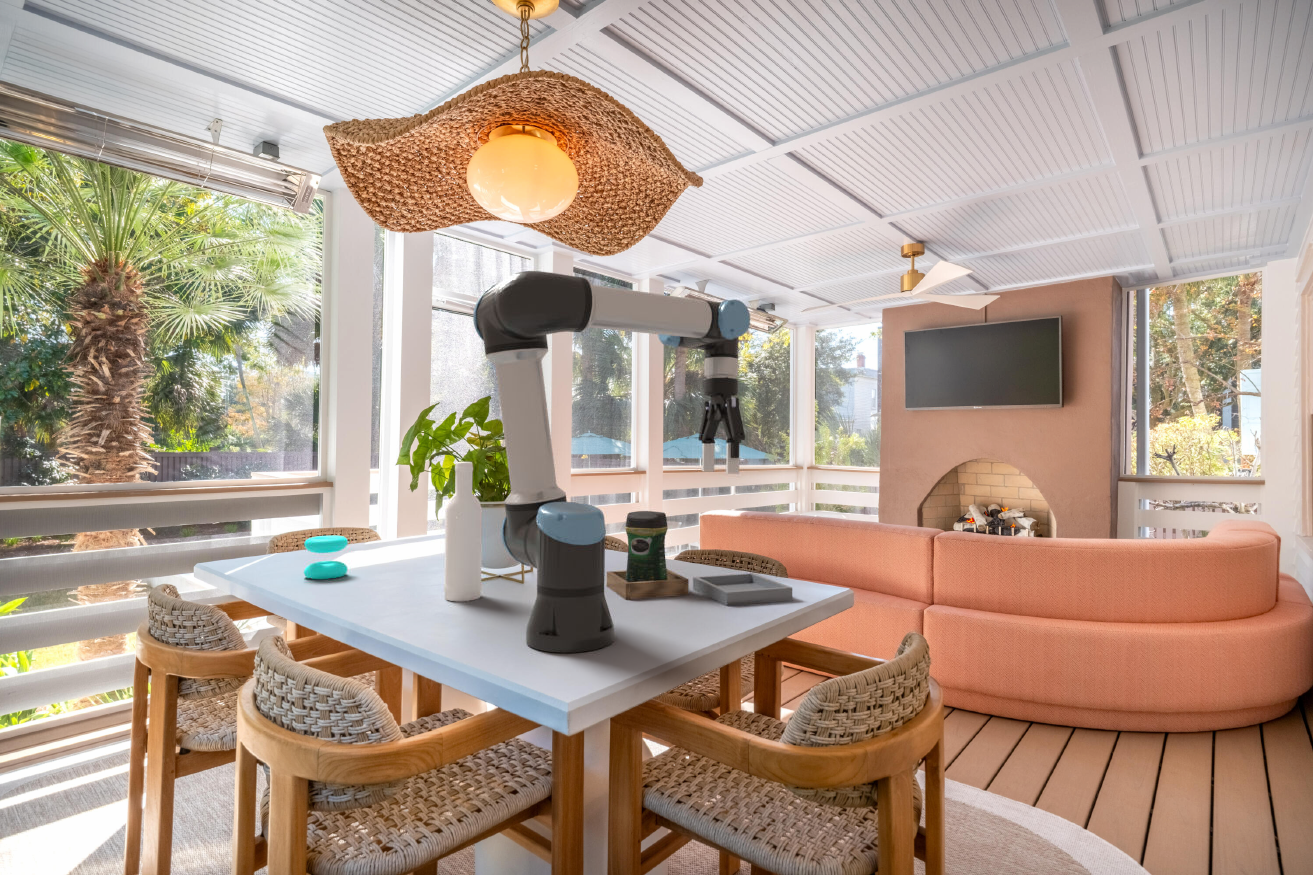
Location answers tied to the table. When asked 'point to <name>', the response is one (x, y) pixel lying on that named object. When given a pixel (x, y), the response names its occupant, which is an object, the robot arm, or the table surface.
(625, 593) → the walnut frame
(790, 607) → the table surface
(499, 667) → the table surface
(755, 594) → the slate tray
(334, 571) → the pair of cyan pebbles
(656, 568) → the coffee jar
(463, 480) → the bottle
